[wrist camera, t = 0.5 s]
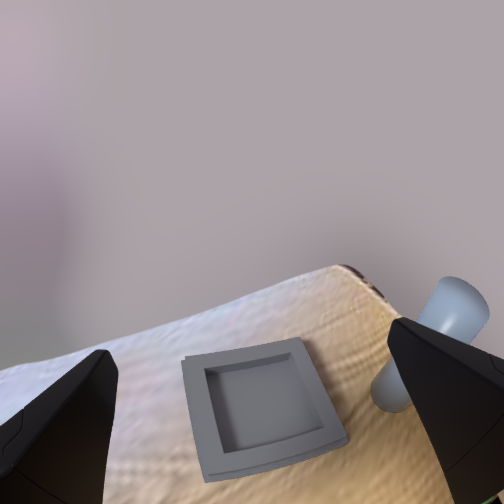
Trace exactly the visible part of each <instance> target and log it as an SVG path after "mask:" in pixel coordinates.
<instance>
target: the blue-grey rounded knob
mask: <svg viewBox="0 0 504 504" xmlns="http://www.w3.org/2000/svg"><path fill="white" fill-rule="evenodd" d="M488 319H489V308H488V305H487V303H486V301H485V299H484V298H483V296H482V295H481V294H480V293H479V291H478V290H477V289H476V288H474V287H473V286H472V285H470V284H469V283H468V282H466V281H464V280H462V279H459V278H456V277H444V278H442V279H441V280H440V281H439V283H438V285H437V286H436V288H435V290H434V292H433V293H432V295H431V297H430V299H429V300H428V302H427V304H426V306H425V307H424V309H423V311H422V312H421V314H420V315H419V317H418V319H417V320H416V322H417V323H419V324H422V325H424V326H426V327H429V328H431V329H433V330H436V331H438V332H440V333H443V334H445V335H447V336H450V337H452V338H454V339H457V340H459V341H461V342H464V343H466V344H468V345H469V344H470V343H471V342H472V340H473V339H474V338H475V337H476V335H477V334H478V333H479V332H480V330H481V329H482V328H483V326H484V325H485V324H486V322H487V321H488ZM371 396H372V399H373V401H374V402H375V404H376V405H377V406H378V407H379V408H381V409H382V410H384V411H386V412H390V413H396V412H400V411H402V410H404V409H405V408H407V407H408V406H409V405H410V404H411V403H413V402H412V400H411V398H410V396H409V394H408V392H407V390H406V388H405V386H404V384H403V382H402V380H401V377H400V375H399V372H398V369H397V367H396V364H395V362H394V359H393V357H392V356H391V358H390V359H389V360H388V362H387V363H386V364H385V366H384V367H383V368H382V369H381V371H380V372H379V373H378V374H377V376H376V377H375V378H374V380H373V381H372V384H371Z"/></svg>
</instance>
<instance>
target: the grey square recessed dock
mask: <svg viewBox="0 0 504 504" xmlns="http://www.w3.org/2000/svg"><path fill="white" fill-rule="evenodd" d="M181 364H182V371H183V378H184V385H185V391H186V397H187V403H188V409H189V414H190V420H191V425H192V430H193V435H194V440H195V444H196V449H197V453H198V458H199V462H200V466H201V470H202V474H203V478H204V482H205V483H209V482H216V481H223V480H229V479H234V478H240V477H245V476H249V475H254V474H258V473H262V472H266V471H270V470H274V469H278V468H281V467H285V466H288V465H292V464H295V463H298V462H301V461H304V460H307V459H310V458H313V457H316V456H318V455H321V454H324V453H326V452H329V451H331V450H334V449H336V448H339V447H341V446H343V445H346V444H347V443H349V441H348V439H347V437H346V436H348V435H347V433H346V431H345V429H344V427H343V425H342V423H341V420H340V418H339V416H338V414H337V412H336V410H335V408H334V406H333V404H332V402H331V400H330V398H329V396H328V393H327V391H326V389H325V387H324V385H323V383H322V381H321V379H320V377H319V375H318V373H317V371H316V369H315V367H314V365H313V362H312V360H311V358H310V356H309V354H308V352H307V350H306V348H305V346H304V344H303V342H302V340H301V338H300V337H296V338H291V339H287V340H282V341H277V342H272V343H267V344H262V345H257V346H252V347H246V348H240V349H234V350H228V351H222V352H215V353H208V354H201V355H194V356H185V360H182V361H181Z"/></svg>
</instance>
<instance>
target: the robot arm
mask: <svg viewBox="0 0 504 504" xmlns="http://www.w3.org/2000/svg"><path fill="white" fill-rule="evenodd" d="M387 343H388V347H389V349H390V352H391V354H392V357H393V359H394V362H395V364H396V367H397V369H398V372H399V375H400V377H401V380H402V382H403V384H404V386H405V388H406V390H407V392H408V394H409V396H410V398H411V400H412V402H413V404H414V406H415V408H416V410H417V412H418V415H419V417H420V419H421V421H422V423H423V425H424V427H425V430H426V432H427V434H428V436H429V439H430V441H431V443H432V446H433V448H434V450H435V453H436V455H437V457H438V460H439V462H440V465H441V467H442V470H443V472H444V475H445V478H446V481H447V483H448V486H449V489H450V492H451V494H452V497H453V500H454V503H455V504H482V503H483V502H485V501H487V500H488V499H490V498H492V497H493V496H495V495H496V494H497V495H496V496H495V497H494V498H493V499H492V500H490V501H489V502H488V503H487V504H504V359H501V358H499V357H496V356H494V355H492V354H488V353H487V352H485V351H482V350H480V349H478V348H475V347H473V346H470V345H468V344H466V343H464V342H461V341H459V340H457V339H454V338H452V337H450V336H447V335H445V334H443V333H440V332H438V331H436V330H433V329H431V328H429V327H426V326H424V325H422V324H419V323H417V322H415V321H412V320H410V319H408V318H405V317H401V318H398V319H395V320H393V322H392V324H391V328H390V331H389V335H388V339H387ZM117 384H118V369H117V366H116V364H115V362H114V360H113V358H112V356H111V354H110V352H109V351H108V350H101V349H98V350H95V351H94V352H92V353H91V354H90V355H89V356H87V357H86V358H85V359H84V360H82V361H81V362H80V363H79V364H77V365H76V366H75V367H73V368H72V369H71V370H70V371H68V372H67V373H66V374H65V375H63V376H62V377H61V378H60V379H58V380H57V381H56V382H55V383H53V384H52V385H51V386H50V387H48V388H47V389H46V390H45V391H43V392H42V393H41V394H40V395H39V396H37V397H36V398H35V399H34V400H32V401H31V402H30V403H29V404H28V405H26V406H25V407H24V409H21V410H20V411H19V412H18V413H17V414H15V415H14V416H13V417H12V418H10V419H9V420H8V421H7V422H5V423H4V424H2V425H1V426H0V504H102V503H103V491H104V481H105V472H106V464H107V457H108V450H109V443H110V437H111V431H112V426H113V420H114V414H115V404H116V393H117Z"/></svg>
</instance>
